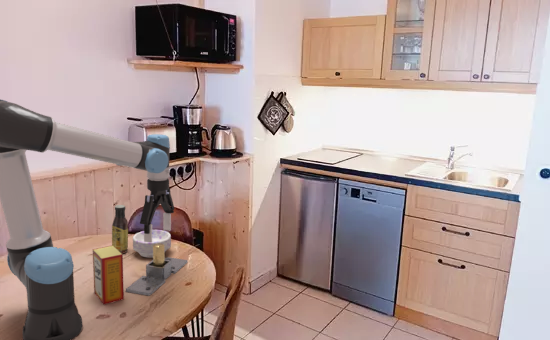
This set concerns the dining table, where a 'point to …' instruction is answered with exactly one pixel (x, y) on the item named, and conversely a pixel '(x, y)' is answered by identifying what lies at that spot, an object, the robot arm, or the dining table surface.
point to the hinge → (155, 276)
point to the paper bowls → (147, 247)
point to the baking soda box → (108, 274)
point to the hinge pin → (158, 255)
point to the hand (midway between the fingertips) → (157, 235)
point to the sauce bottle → (120, 230)
